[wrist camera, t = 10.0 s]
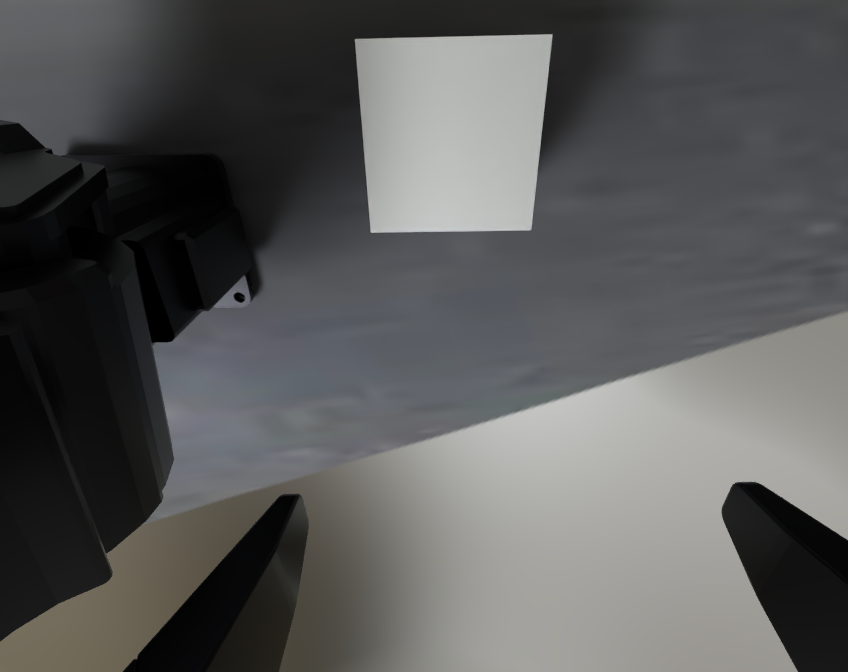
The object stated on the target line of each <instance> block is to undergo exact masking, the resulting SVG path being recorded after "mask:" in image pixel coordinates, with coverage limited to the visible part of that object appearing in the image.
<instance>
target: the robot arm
mask: <svg viewBox="0 0 848 672" xmlns="http://www.w3.org/2000/svg"><path fill="white" fill-rule="evenodd" d="M205 162H209V163H210V164H211V165H212V166H213V168H214V172H213V173H209V172H208V171H207V170H206V168H205ZM250 268H251V261H250V256H249V252H248V247H247V243H246V239H245V234H244V230H243V225H242V221H241V217H240V212H239V211H238V210H237V209H236V208H235V207H234V206H233V203H232V199H231V195H230V190H229V186H228V182H227V177H226V173H225V169H224V165H223V163H222V161H221V160H220V159H219V158H218V157H217V156H216V155H214V154H210V153H160V154H68V155H62V156H58V155H53V152H52V149H49V148H45V147H44V146H43V145H42V144H41V143H40V142H39V141H38V140H36V139H35V138H34V137H33V136H32V135H31V134H30V133H29V132H28V131H27V130H26V129H25V128H23V127H22V126H21V125H20V124H19V123H14V122H8V121H2V120H0V641H1V640H3V639H4V638H5V637H7V636H8V635H9V634H10V633H12V632H13V631H15V630H16V629H18V628H19V627H21V626H23V625H24V624H26V623H27V622H29V621H31V620H32V619H34V618H36V617H37V616H39V615H40V614H42V613H44V612H45V611H47V610H49V609H50V608H52V607H54V606H55V605H57V604H58V603H61V602H63V601H65V600H68V599H70V598H72V597H75V596H77V595H79V594H82V593H84V592H86V591H88V590H91V589H93V588H96V587H98V586H100V585H102V584H104V583H106V582H107V581H108V580H110V578H111V577H112V573H113V572H112V569H111V566H110V563H109V561H108V558H107V555H106V553H108V552H109V551H111V550H112V549H113V548H115V547H116V546H117V545H118V544H119V543H120V542H122V541H123V540H124V539H125V538H126V537H128V536H129V535H130V534H131V533H132V532H134V531H135V530H136V529H137V528H138V527H140V526H141V525H142V524H143V523H144V522H145V521H146V520H147V519H148V518H149V517H150V515H151V514H152V513H153V512H154V510H155V509H156V508H157V507H158V506H159V504H160V503H161V502H162V499H163V493H162V490H163V488H164V486H165V485H166V482H167V479H168V476H169V473H170V470H171V467H172V464H173V461H174V457H173V450H172V443H171V437H170V432H169V427H168V422H167V417H166V412H165V407H164V402H163V397H162V392H161V387H160V382H159V377H158V372H157V367H156V362H155V357H154V351H153V345H154V344H155V343H156V342H171V341H173V340H174V339H175V338H176V337H177V336H178V335H179V334H180V333H181V332H182V331H183V330H184V329H185V328H186V327H187V326H188V325H189V324H190V323H191V322H192V321H193V320H194V319H195V318H196V317H197V316H198V315H199V314H200V313H201V312H202V311H209V310H211V309H212V308H231V307H246V306H248V305H249V304H250V303H251V301H252V300H253V298H254V294H253V289H252V285H251V281H250V276H249V272H248V271H249V269H250ZM237 292H239V293H242V294H243V295H244V296H245V299H242V298H240V297H239V296H238V295H237ZM722 517H723V520H724V523H725V525H726V528H727V530H728V532H729V534H730V537H731V539H732V541H733V544H734V546H735V548H736V550H737V553H738V555H739V557H740V559H741V562H742V564H743V566H744V569H745V571H746V573H747V576H748V578H749V580H750V583H751V585H752V587H753V589H754V591H755V593H756V595H757V597H758V599H759V601H760V603H761V605H762V607H763V609H764V611H765V612H766V614H767V616H768V618H769V620H770V622H771V623H772V625H773V627H774V629H775V631H776V632H777V634H778V636H779V638H780V640H781V642H782V643H783V645H784V647H785V649H786V651H787V653H788V654H789V656H790V658H791V659H792V662H793V663H794V665H795V667H796V669H797V671H798V672H848V540H847V539H845V538H843V537H842V536H840V535H839V534H837V533H836V532H834V531H832V530H831V529H830V528H828V527H826V526H825V525H823V524H822V523H820V522H819V521H817V520H816V519H814V518H813V517H811V516H809V515H808V514H806V513H805V512H803V511H802V510H800V509H799V508H797V507H795V506H794V505H792V504H791V503H789V502H788V501H786V500H784V499H783V498H782V497H780V496H778V495H777V494H775V493H774V492H772V491H771V490H769V489H767V488H766V487H764V486H763V485H761V484H759V483H756V482H737V483H735V484H733V485H732V487H731V489H730V491H729V493H728V495H727V498H726V500H725V502H724V504H723V507H722ZM308 529H309V520H308V516H307V512H306V508H305V505H304V502H303V498H302V496H301V495H299V494H283V495H281V496H279V497H278V498H277V499H276V501H275V502H274V503H273V504H272V505H271V506H270V507H269V508H268V510H267V511H266V512H265V513H264V514H263V515H262V516H261V517H260V519H259V520H258V521H257V522H256V523H255V524H254V525H253V526H252V528H251V529H250V530H249V531H248V532H247V533H246V534H245V535H244V537H243V538H242V539H241V540H240V541H239V542H238V543H237V544H236V545H235V547H234V548H233V549H232V550H231V551H230V552H229V553H228V554H227V556H226V557H225V558H224V559H223V560H222V561H221V562H220V563H219V564H218V566H217V567H216V568H215V569H214V570H213V571H212V572H211V573H210V575H209V576H208V577H207V578H206V579H205V580H204V581H203V583H202V584H201V585H200V586H199V587H198V588H197V589H196V591H194V592H193V594H192V595H191V596H190V597H189V598H188V599H187V600H186V602H185V603H184V604H183V605H182V606H181V607H180V608H179V609H178V610H177V612H176V613H175V614H174V615H173V616H172V617H171V618H170V619H169V620H168V622H167V623H166V624H165V625H164V626H163V627H162V628H161V629H160V631H159V632H158V633H157V634H156V635H155V636H154V637H153V638H152V640H151V641H150V642H149V643H148V644H147V645H146V646H145V647H144V649H143V650H142V651H141V652H140V653H139V654H138V657H137V659H134V660H133V661H132V662H131V663H130V664H129V665H128V666H127V667H126V668H125V670H124V671H123V672H279V670H280V665H281V662H282V658H283V654H284V650H285V647H286V643H287V639H288V635H289V632H290V628H291V624H292V620H293V617H294V612H295V608H296V604H297V598H298V592H299V586H300V580H301V573H302V567H303V561H304V554H305V548H306V542H307V536H308Z"/></svg>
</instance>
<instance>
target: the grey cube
mask: <svg viewBox="0 0 848 672" xmlns="http://www.w3.org/2000/svg"><path fill="white" fill-rule="evenodd" d="M552 35H553V34H543V35H501V36H459V37H417V38H375V39H355V48H356V60H357V72H358V84H359V96H360V108H361V120H362V132H363V144H364V156H365V168H366V180H367V192H368V204H369V216H370V228H371V233H378V232H445V231H513V230H531V226H532V217H533V208H534V199H535V190H536V181H537V172H538V163H539V153H540V144H541V135H542V126H543V117H544V108H545V99H546V90H547V81H548V72H549V62H550V53H551V44H552Z"/></svg>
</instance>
